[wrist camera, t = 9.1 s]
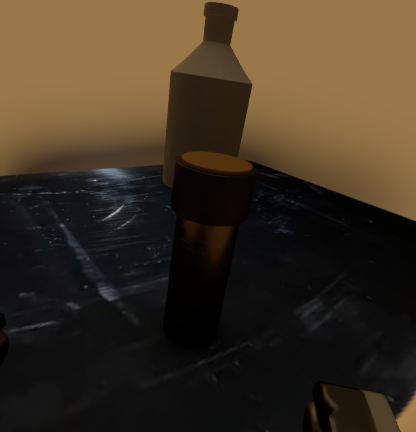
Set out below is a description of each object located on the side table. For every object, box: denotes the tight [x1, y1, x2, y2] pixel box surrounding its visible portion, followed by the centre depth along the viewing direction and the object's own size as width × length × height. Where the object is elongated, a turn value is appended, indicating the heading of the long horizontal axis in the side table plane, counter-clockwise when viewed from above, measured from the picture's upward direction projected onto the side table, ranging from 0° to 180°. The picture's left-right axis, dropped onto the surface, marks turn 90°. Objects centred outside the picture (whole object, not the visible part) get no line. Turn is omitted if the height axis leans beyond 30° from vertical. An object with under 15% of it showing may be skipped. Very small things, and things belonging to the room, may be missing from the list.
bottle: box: [163, 2, 252, 188], centre depth 48 cm, size 12×12×25 cm
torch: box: [163, 151, 257, 348], centre depth 20 cm, size 5×5×12 cm
